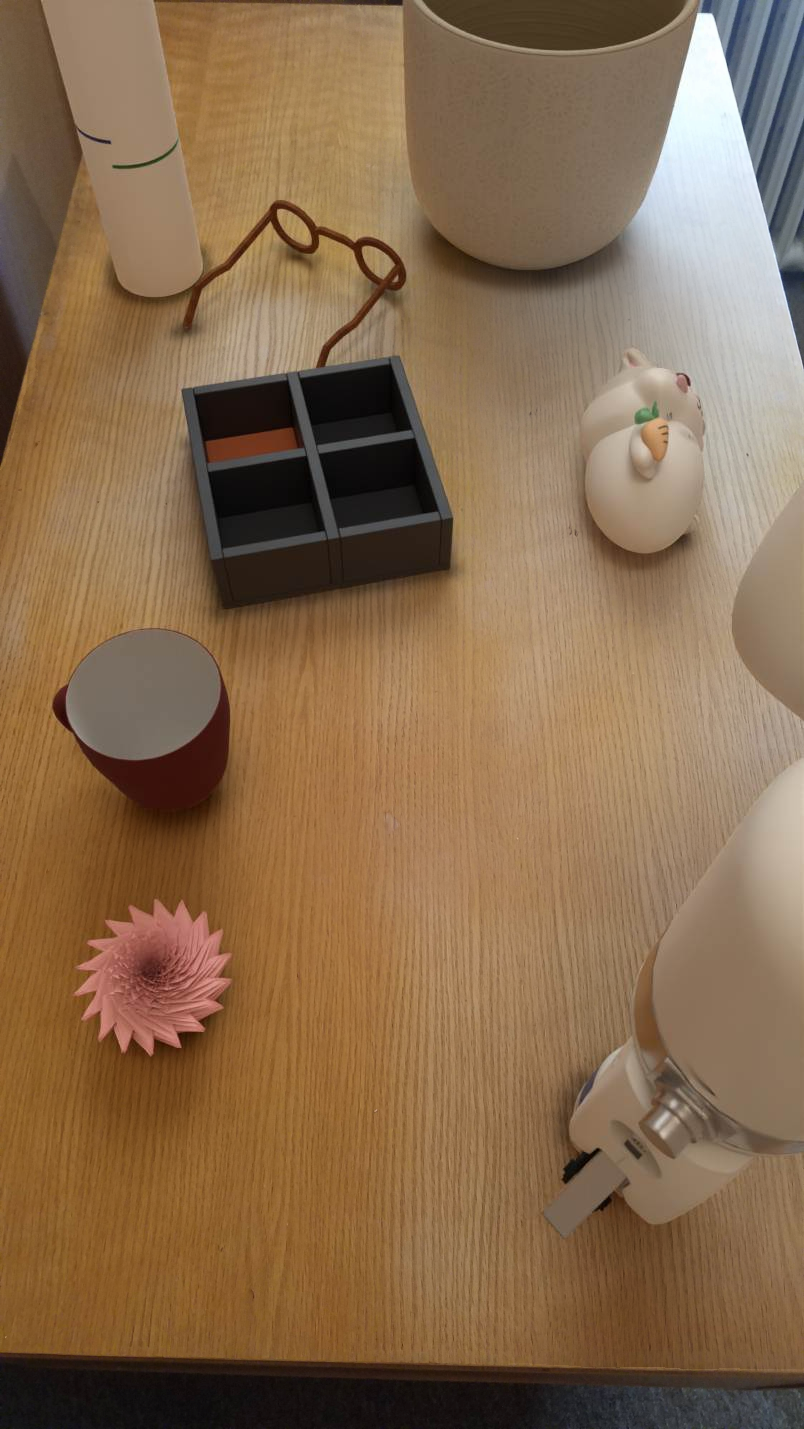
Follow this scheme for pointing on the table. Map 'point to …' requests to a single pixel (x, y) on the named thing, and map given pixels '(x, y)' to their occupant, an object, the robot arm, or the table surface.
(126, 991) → the flower
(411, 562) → the divided storage tray
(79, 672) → the mug
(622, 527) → the white animal figurine
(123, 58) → the cylindrical container
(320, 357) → the glasses
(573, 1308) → the table surface
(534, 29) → the planter
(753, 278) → the table surface
